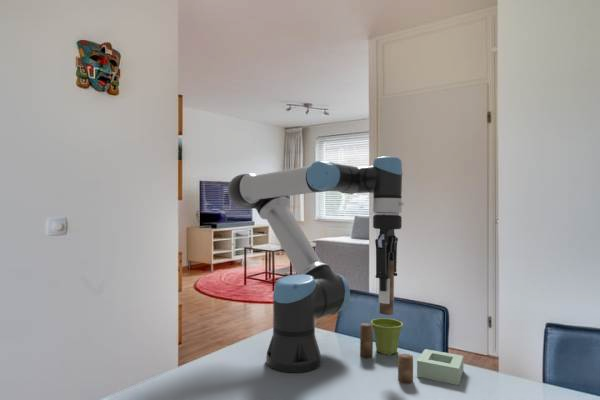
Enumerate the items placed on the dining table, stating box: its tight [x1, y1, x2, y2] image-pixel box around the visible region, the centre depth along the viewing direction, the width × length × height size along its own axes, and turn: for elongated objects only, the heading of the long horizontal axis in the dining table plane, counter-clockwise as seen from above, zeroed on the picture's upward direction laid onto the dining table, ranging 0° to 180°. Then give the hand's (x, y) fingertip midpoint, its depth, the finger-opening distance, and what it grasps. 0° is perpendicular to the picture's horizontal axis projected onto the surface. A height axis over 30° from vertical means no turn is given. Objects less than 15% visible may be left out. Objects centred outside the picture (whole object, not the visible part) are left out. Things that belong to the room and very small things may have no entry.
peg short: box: [397, 353, 414, 385], centre depth 97 cm, size 4×4×6 cm
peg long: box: [379, 260, 395, 316], centre depth 104 cm, size 4×4×14 cm
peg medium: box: [359, 322, 374, 359], centre depth 113 cm, size 4×4×9 cm
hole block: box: [416, 348, 464, 386], centre depth 101 cm, size 10×10×4 cm
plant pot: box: [370, 317, 404, 356], centre depth 117 cm, size 9×9×9 cm
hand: (386, 301), depth 104 cm, fingers closed on peg long, 3 cm apart
